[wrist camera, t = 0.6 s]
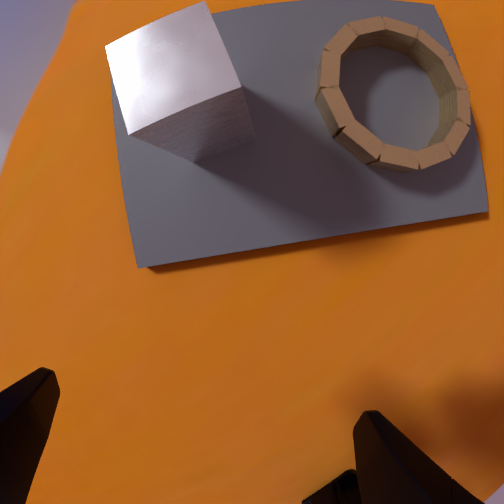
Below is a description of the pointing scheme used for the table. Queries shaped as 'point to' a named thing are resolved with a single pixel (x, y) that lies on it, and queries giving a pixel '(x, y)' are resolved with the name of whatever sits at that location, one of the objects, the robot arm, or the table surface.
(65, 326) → the table surface
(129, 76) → the tall lilac block
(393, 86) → the stove plate
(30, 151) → the table surface
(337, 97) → the collar
